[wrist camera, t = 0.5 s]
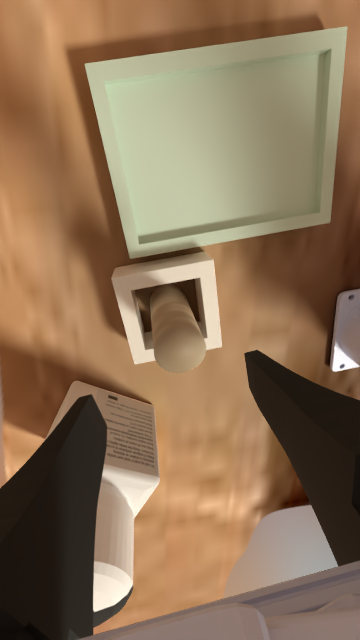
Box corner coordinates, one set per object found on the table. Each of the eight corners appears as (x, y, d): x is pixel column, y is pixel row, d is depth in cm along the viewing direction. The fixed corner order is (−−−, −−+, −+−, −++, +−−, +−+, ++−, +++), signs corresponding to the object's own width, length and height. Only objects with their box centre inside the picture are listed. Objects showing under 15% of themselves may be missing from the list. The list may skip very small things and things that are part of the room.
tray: (330, 39, 16) (347, 26, 14) (318, 220, 20) (330, 222, 19) (89, 74, 15) (84, 63, 14) (130, 254, 19) (130, 258, 18)
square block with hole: (204, 251, 20) (213, 259, 17) (213, 329, 23) (222, 346, 20) (115, 267, 20) (111, 278, 17) (135, 345, 22) (134, 364, 20)
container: (121, 459, 28) (108, 652, 16) (44, 440, 25) (-38, 650, 14) (155, 404, 25) (170, 583, 14) (74, 377, 23) (6, 566, 11)
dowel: (182, 280, 21) (203, 322, 14) (187, 313, 22) (208, 367, 15) (146, 287, 20) (148, 333, 14) (153, 320, 22) (159, 377, 15)
